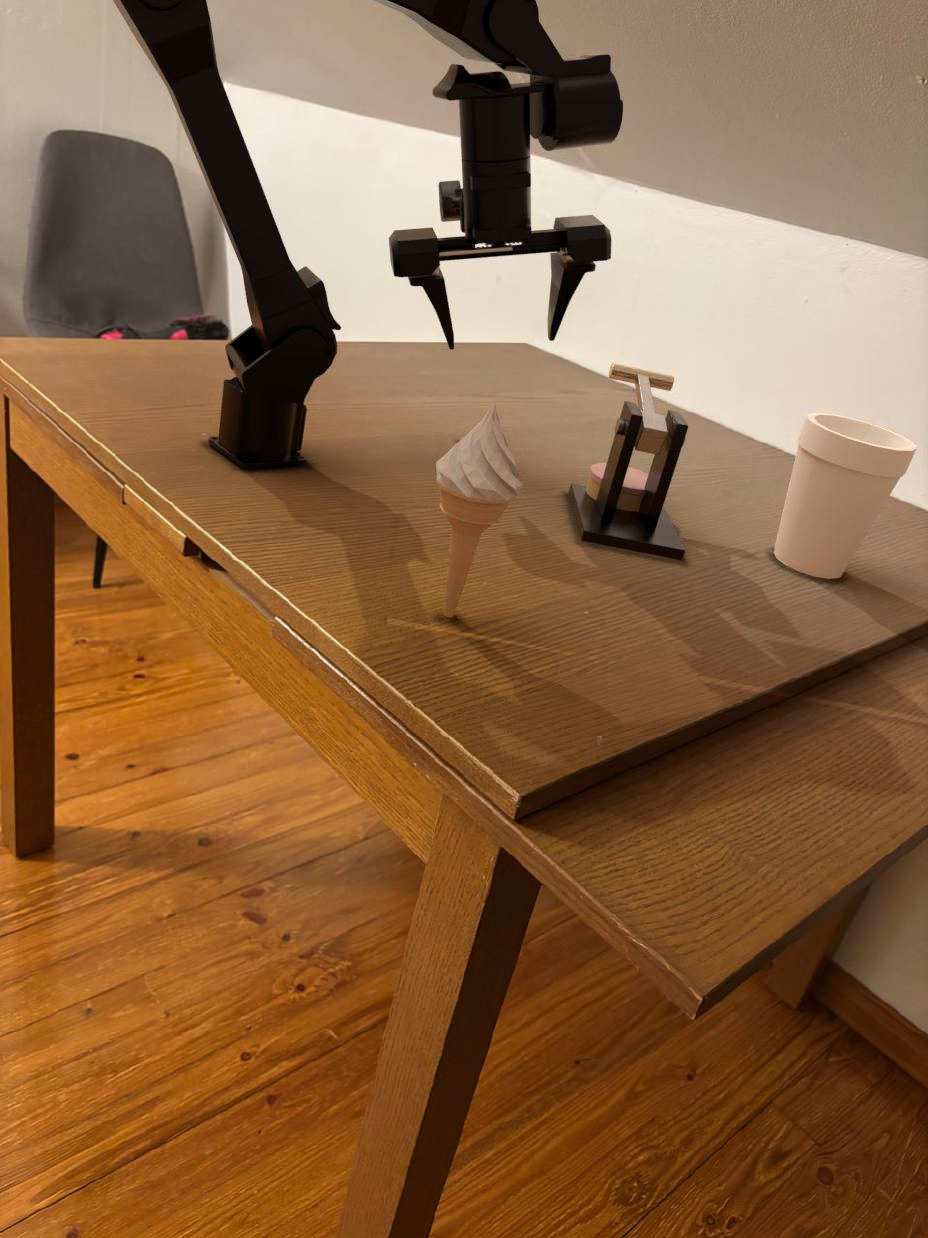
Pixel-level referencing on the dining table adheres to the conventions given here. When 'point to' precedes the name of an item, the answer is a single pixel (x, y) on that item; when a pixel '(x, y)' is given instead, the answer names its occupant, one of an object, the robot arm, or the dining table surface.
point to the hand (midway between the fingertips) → (501, 343)
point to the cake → (630, 489)
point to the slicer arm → (646, 404)
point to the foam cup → (837, 491)
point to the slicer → (651, 522)
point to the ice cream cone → (474, 496)
